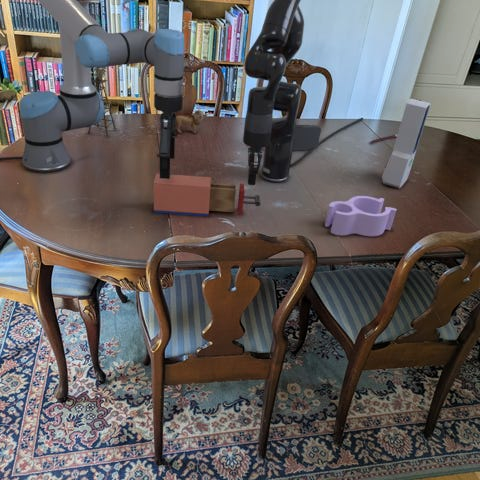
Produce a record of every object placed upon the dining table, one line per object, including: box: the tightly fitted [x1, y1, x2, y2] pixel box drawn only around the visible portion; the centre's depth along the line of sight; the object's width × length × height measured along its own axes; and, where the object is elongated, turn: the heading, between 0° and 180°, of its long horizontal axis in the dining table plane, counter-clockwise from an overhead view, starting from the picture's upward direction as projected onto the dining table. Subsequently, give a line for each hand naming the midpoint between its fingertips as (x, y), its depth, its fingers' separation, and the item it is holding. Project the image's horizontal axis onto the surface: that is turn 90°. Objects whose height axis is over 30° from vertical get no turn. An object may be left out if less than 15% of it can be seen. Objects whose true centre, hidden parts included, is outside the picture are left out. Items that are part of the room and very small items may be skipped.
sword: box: [370, 133, 398, 145], centre depth 214 cm, size 31×3×1 cm, turn 126°
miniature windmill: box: [87, 67, 117, 137], centre depth 181 cm, size 9×8×30 cm
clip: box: [324, 195, 398, 237], centre depth 141 cm, size 20×12×7 cm, turn 109°
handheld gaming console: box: [291, 124, 322, 152], centre depth 189 cm, size 23×3×10 cm, turn 108°
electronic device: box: [381, 98, 432, 189], centre depth 166 cm, size 12×8×30 cm, turn 148°
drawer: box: [209, 182, 261, 216], centre depth 140 cm, size 20×5×8 cm, turn 92°
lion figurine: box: [175, 109, 204, 134], centre depth 195 cm, size 15×5×9 cm, turn 110°
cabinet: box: [153, 173, 212, 217], centre depth 139 cm, size 16×6×10 cm, turn 92°
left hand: (167, 167), depth 135 cm, fingers open, 13 cm apart
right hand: (251, 183), depth 138 cm, fingers closed
